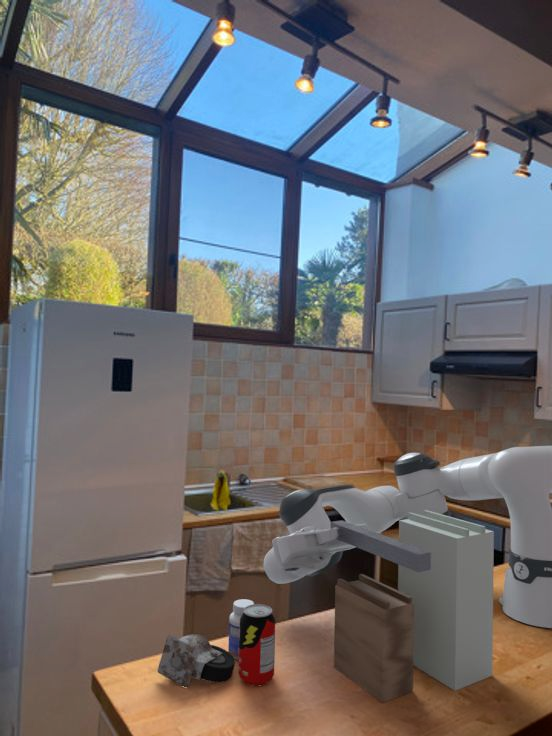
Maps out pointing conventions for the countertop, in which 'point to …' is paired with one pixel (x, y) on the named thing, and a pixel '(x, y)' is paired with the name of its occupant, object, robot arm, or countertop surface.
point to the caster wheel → (194, 660)
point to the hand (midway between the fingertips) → (346, 530)
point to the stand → (451, 597)
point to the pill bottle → (236, 626)
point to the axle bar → (384, 546)
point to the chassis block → (374, 637)
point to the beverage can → (257, 645)
